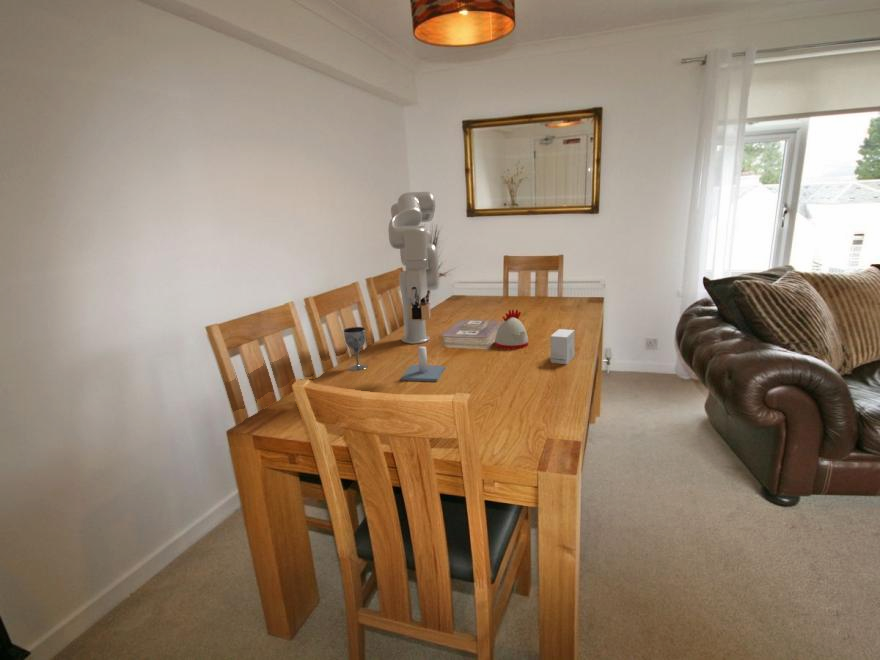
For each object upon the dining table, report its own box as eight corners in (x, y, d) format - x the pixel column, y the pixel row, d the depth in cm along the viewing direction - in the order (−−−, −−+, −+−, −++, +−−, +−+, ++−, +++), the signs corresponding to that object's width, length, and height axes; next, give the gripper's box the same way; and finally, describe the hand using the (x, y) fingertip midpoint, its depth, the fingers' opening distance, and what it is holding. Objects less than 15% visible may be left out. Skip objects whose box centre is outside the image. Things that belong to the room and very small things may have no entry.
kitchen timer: (534, 346, 192) (534, 310, 188) (505, 351, 187) (505, 315, 183) (517, 337, 204) (517, 304, 200) (489, 342, 200) (488, 308, 196)
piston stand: (410, 367, 174) (409, 342, 171) (444, 368, 171) (443, 342, 168) (401, 380, 161) (399, 353, 159) (437, 381, 159) (436, 353, 156)
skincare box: (558, 354, 181) (558, 328, 178) (574, 356, 177) (575, 329, 174) (549, 362, 172) (549, 335, 169) (566, 364, 169) (567, 337, 166)
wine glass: (348, 372, 172) (344, 333, 168) (346, 365, 179) (342, 328, 175) (369, 369, 174) (366, 330, 170) (367, 362, 181) (363, 325, 177)
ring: (412, 315, 165) (412, 302, 163) (432, 315, 163) (431, 302, 162) (407, 320, 158) (406, 306, 157) (427, 320, 157) (426, 306, 155)
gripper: (412, 262, 165) (415, 310, 169) (398, 268, 148) (402, 322, 153) (433, 261, 163) (435, 310, 168) (421, 268, 147) (424, 322, 151)
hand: (419, 316), depth 160 cm, fingers closed on ring, 7 cm apart
